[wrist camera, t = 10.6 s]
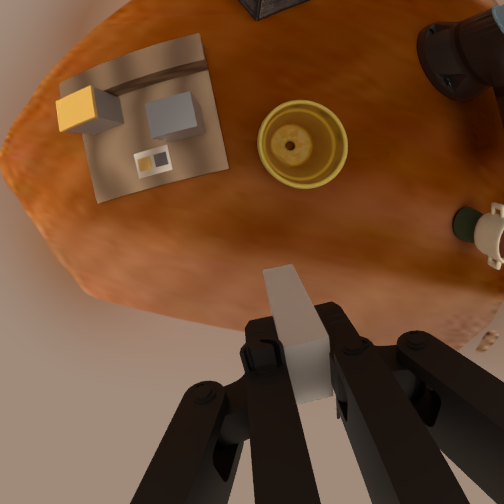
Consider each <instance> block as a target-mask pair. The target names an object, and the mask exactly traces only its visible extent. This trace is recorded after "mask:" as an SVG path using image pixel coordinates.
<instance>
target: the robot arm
mask: <svg viewBox="0 0 504 504" xmlns="http://www.w3.org/2000/svg"><path fill="white" fill-rule="evenodd" d="M417 50H418V56H419V59H420V62H421V65H422V67H423V69H424V71H425V73H426V75H427V77H428V78H429V80H430V81H431V82H432V84H433V85H434V86H435V87H436V88H437V89H438V90H439V91H440V92H441V93H443V94H444V95H445V96H447V97H449V98H451V99H453V100H457V101H464V100H470V99H474V98H476V97H477V96H479V95H480V94H481V93H483V92H484V91H485V90H487V89H488V88H489V87H491V86H493V89H494V93H495V96H496V100H497V103H498V107H499V111H500V115H501V119H502V123H503V128H504V5H501V6H499V5H496V6H494V7H493V8H491V9H489V10H486V11H484V12H482V13H479V14H477V15H474V16H472V17H470V18H468V19H465V20H463V21H461V22H436V23H433V24H431V25H429V26H427V27H425V28H424V29H423V30H422V31H421V32H420V34H419V37H418V41H417ZM263 275H264V280H265V285H266V290H267V295H268V300H269V305H270V310H271V315H272V316H270V317H265V318H260V319H255V320H250V321H249V322H248V324H247V325H246V327H245V336H246V343H245V345H243V347H242V348H241V350H240V356H241V360H242V363H243V367H244V370H245V374H244V375H243V376H242V377H241V378H240V379H239V380H237V381H236V382H233V383H232V384H229V385H227V386H224V387H223V386H222V385H221V384H220V383H218V382H215V381H202V382H200V383H197V384H194V385H193V386H191V387H190V388H189V389H188V390H187V391H186V392H185V394H184V396H183V398H182V400H181V402H180V404H179V406H178V408H177V410H176V412H175V414H174V416H173V418H172V420H171V422H170V424H169V426H168V428H167V430H166V432H165V434H164V436H163V438H162V440H161V442H160V444H159V447H158V448H157V451H156V452H155V455H154V457H153V458H152V461H151V462H150V464H149V466H148V469H147V471H146V473H145V475H144V477H143V479H142V481H141V483H140V485H139V487H138V489H137V491H136V493H135V495H134V497H133V499H132V501H131V503H130V504H227V503H228V500H229V496H230V493H231V489H232V486H233V482H234V478H235V475H236V471H237V467H238V464H239V460H240V456H241V452H242V448H243V444H244V441H245V440H247V439H250V445H251V459H252V472H253V484H254V497H255V504H321V502H320V498H319V494H318V490H317V486H316V482H315V477H314V473H313V469H312V465H311V461H310V457H309V453H308V449H307V445H306V441H305V437H304V433H303V428H302V424H301V421H300V416H299V412H298V408H297V405H298V404H302V403H306V402H310V401H314V400H319V399H323V398H327V397H330V396H333V389H334V391H335V394H336V406H337V419H339V418H340V416H341V419H342V421H343V424H344V427H345V430H346V432H347V435H348V438H349V440H350V443H351V446H352V449H353V451H354V454H355V457H356V460H357V462H358V465H359V468H360V470H361V473H362V476H363V479H364V482H365V484H366V487H367V490H368V493H369V496H370V499H371V502H372V504H470V503H469V501H468V499H467V497H466V496H465V494H464V492H463V490H462V488H461V486H460V485H459V483H458V481H457V479H456V477H455V476H454V474H453V472H452V470H451V469H450V467H449V465H448V463H447V461H446V460H445V458H444V456H443V455H442V453H441V451H442V452H443V453H444V454H445V455H446V456H447V457H448V458H449V459H451V461H453V462H454V463H455V464H456V465H457V466H458V467H459V468H460V469H461V470H462V471H463V472H464V473H465V474H466V475H467V476H468V477H469V478H470V479H471V480H473V481H474V482H475V483H476V484H477V485H478V486H479V487H480V488H481V489H482V490H483V491H484V492H485V493H486V494H487V495H488V496H490V497H491V498H492V499H493V500H494V501H495V502H496V503H497V504H504V382H502V381H501V380H499V379H498V378H496V377H495V376H493V375H492V374H490V373H489V372H487V371H486V370H484V369H483V368H481V367H480V366H478V365H477V364H475V363H474V362H472V361H471V360H469V359H468V358H466V357H465V356H463V355H462V354H460V353H459V352H457V351H455V350H454V349H452V348H451V347H449V346H448V345H446V344H445V343H443V342H442V341H440V340H439V339H437V338H435V337H434V336H432V335H431V334H429V333H427V332H424V331H417V330H416V331H409V332H406V333H404V334H402V335H401V336H400V337H399V338H398V341H397V345H390V346H375V345H373V343H372V342H371V341H370V340H369V339H367V338H364V337H361V336H359V334H358V333H357V331H356V329H355V328H354V326H353V325H352V323H351V322H350V320H349V319H348V317H347V316H346V314H345V313H344V311H343V310H342V308H341V307H340V306H339V305H337V304H335V303H334V302H328V303H323V304H319V305H315V306H313V304H312V302H311V300H310V298H309V296H308V294H307V292H306V290H305V288H304V286H303V284H302V282H301V280H300V278H299V276H298V274H297V272H296V270H295V269H294V267H293V265H292V264H289V265H284V266H279V267H275V268H270V269H265V270H263ZM440 450H441V451H440Z"/></svg>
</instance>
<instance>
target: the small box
mask: <svg viewBox="0 0 504 504" xmlns="http://www.w3.org/2000/svg"><path fill="white" fill-rule="evenodd" d="M239 1H240V3H241V4H242V5H243V6H244V7H245V9H246V10H247V11H248V12H249V13H250V15H251V16H252V17H253V18H254V20H255V21H259V20H261V19H263V18H265V17H268V16H270V15H272V14H275V13H277V12H280V11H282V10H284V9H287V8H290V7H292V6H295V5H298V4H300V3H303V2H306V1H308V0H239Z"/></svg>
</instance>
